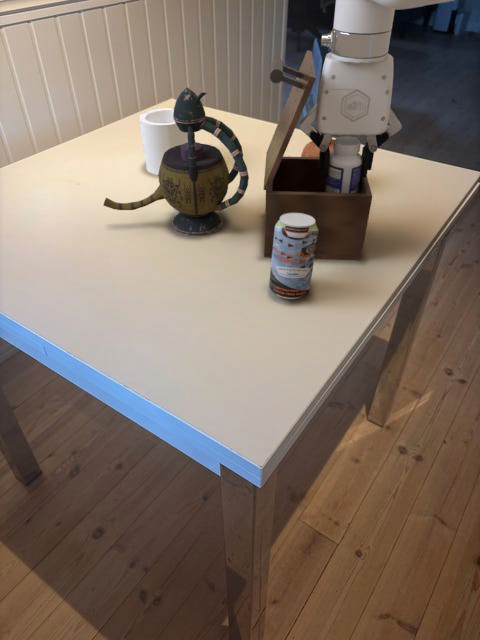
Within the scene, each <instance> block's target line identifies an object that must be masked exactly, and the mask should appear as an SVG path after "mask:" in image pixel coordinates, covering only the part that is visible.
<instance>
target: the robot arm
mask: <svg viewBox="0 0 480 640" xmlns="http://www.w3.org/2000/svg"><path fill="white" fill-rule="evenodd" d="M455 1H456V0H335V6H334V17H333V27H332V30H331V31H330V33H327V34H321V37H320V38H321V39H320V45H321V47H326V48H329V50H330V52H328V53H326V55H325V58H324V62H323V66H322V69H321V70H322V71H321V76H320V79H319V84H318V85H319V86H318V93H317V100H316V104H315V105H314V106H313V107H312V108H311V109H310V110H309V111H308V113H306V114H305V116H304V117H303V118H302V119H301V120H300V121H299V122H298V127H299V130H300V131H301V132H302V133H303V134H305V136H307V137H308V138H309V139H310V140H311V141H313V142H314V143H315V145H316V146H317V147H318V148H319V150H320V153H319V164H318V169H322V174H323V177H326V176H328V168H329V159H330V149H329V143H330V141H331V139H333V136H365V139H366V142H365V144H364V145H363V146H362V151H361V156H362V159H363V162H362V170H361V177H363V178H366V177H367V178H368V171H371V170H372V168H373V161H374V155H375V153H376V152H377V151H378V149H379V148H380V147H381V146H383V144H385V143H386V142H387V141H388V140H389V138H391V137H393V136H394V135H396V134H397V133H398V132H400V131H401V130H402V128H403V125H402V123H401V122H400V120H399V119H398V117H397V115H396V114H395V112H394V111H393V109H392V108H391V106H392V105H391V104H392V97H393V85H394V57H393V56H392V54H390V53H389V50H390V49H389V48H390V42H391V36H392V29H393V23H394V17H395V12H396V10H397V11H398V10H401V11H402V10H408V9H416V8H421V7H425V6H431V5H436V4H443V3H449V2H455ZM314 122H316V123H315V125H316V128H314V126H312V125H313V123H314Z"/></svg>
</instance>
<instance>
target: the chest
mask: <svg viewBox="0 0 480 640" xmlns="http://www.w3.org/2000/svg"><path fill="white" fill-rule="evenodd" d="M318 164H319V157H301V156H283V158H282V160H281V163H280V165H279V167H278V170H277V172H276V174H275V177H274V179H273V181H272V184H271V186H270V189H269V191H266V190H265V202H264V203H265V205H264V207H265V208H264V210H265V211H264V215H265V216H264V242H263V243H264V247H263V257H264V258H272V251H273V240H274V230H275V225H276V223H277V222H278V221H279V220H280V216H281V215H283V214H286V213H302V214H306V215H309V216H311V217H313V218H314V219H315V224H316V226H317V228H318V237H317V243H316V250H315V257H314V260H315V259H316V260H317V259H318V260H322V259H323V260H342V261H343V260H345V261H362V255H363V250H364V244H365V240H366V233H367V230H368V224H369V218H370V213H371V207H372V201H373V193H372V190H371V186H370V182H369V178H368V176H367V177H366V178H363V177H361V176H360V184H359V191H358V193H330V192H325V188H326V177H327V176H326V177H323V174H322V169H318Z"/></svg>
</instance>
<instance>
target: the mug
mask: <svg viewBox="0 0 480 640" xmlns="http://www.w3.org/2000/svg"><path fill="white" fill-rule="evenodd" d="M173 112H174V108H170V107H165V108H156V109H155V108H154V109H151V110H147V111H144V112H143V113H141V114H140V115H139V118H138V120H139V126H140V127H139V128H140V134H141V142H142V148H143V154H144V162H145V168H146V170H147V172H149V173H150V174H152V175H155V176H159V175H158V174H159V168H160V165H161V161H162V158H163V155H164V153H165V152H166V151H167V150H168V149H170V148H172V147H175V146H178V145H182V144H184V143H188V136H187V134H188V133H185V132H182V131H180V130H179V128H178V126H177V125H176V123H175V121H174V120H173Z"/></svg>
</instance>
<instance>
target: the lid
mask: <svg viewBox="0 0 480 640" xmlns="http://www.w3.org/2000/svg"><path fill="white" fill-rule="evenodd" d="M284 73H286V74H288V75H291V76H293V78H292V77H290V76H287V75H285V74H284ZM294 77H295V78H294ZM269 80H270V81H271V83H273V84H280V83H281V82H283V83H286V84H288V85H290V86H292V88H291V90H290V93H289V95H288V97H287V100H286V102H285V105H284V106H283V107H284V108H283V110H282V112H281V114H280V117H279V120H278V123H277V125H276V128H275V130H274V133H273V135H272V138H271V139H270V140H271V141H270V142H269V145H268V148H267V150H266V156H265V167H264V177H263V188H262V189H263V191H265V192H266V191H269V189H270V186H271V184H272V181H273V179H274V177H275V174H276V172H277V170H278V167H279V165H280V163H281V160H282V158H283V157H284V156H285V153H286V151H287V148H288V146H289V144H290V141H291V139H292V136H293V134H294V132H295V129H296V127H297V125H298V123H299V120H300V118H301V115H302V113H303V110H304V108H305V105H306V104H307V101H308V99H309V96H310V94H311V92H312V90H313V87H314V84H315V82H316V80H317V76H316V70H315V61H314V56H313V51H311V50H306V52H305V54H304V57H303V60H302V62H301V65H300V67H299V70H297V69H295V68H292V67H290V66H288V65H285V64H284V61H283V60H282V59H281V58H279V57H275V58H273V59H272V60H271V63H270V71H269Z"/></svg>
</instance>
